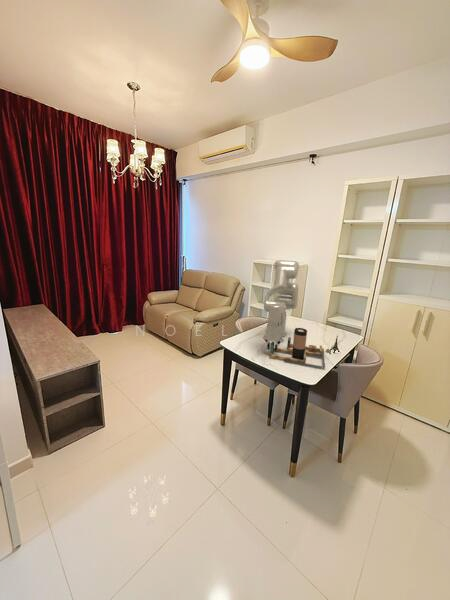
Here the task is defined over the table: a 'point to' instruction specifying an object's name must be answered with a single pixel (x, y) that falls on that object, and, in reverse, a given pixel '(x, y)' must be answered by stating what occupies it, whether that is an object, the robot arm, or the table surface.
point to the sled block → (305, 348)
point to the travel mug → (299, 343)
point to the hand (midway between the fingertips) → (272, 349)
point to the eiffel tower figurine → (333, 347)
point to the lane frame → (310, 364)
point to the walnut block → (312, 348)
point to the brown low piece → (285, 353)
